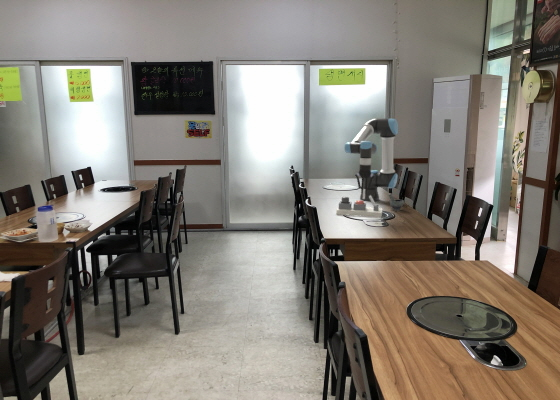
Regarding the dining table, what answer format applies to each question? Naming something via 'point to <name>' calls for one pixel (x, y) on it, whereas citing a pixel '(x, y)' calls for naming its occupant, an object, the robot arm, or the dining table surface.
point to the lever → (372, 200)
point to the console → (358, 210)
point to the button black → (345, 200)
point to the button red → (359, 202)
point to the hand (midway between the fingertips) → (363, 198)
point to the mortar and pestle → (395, 203)
